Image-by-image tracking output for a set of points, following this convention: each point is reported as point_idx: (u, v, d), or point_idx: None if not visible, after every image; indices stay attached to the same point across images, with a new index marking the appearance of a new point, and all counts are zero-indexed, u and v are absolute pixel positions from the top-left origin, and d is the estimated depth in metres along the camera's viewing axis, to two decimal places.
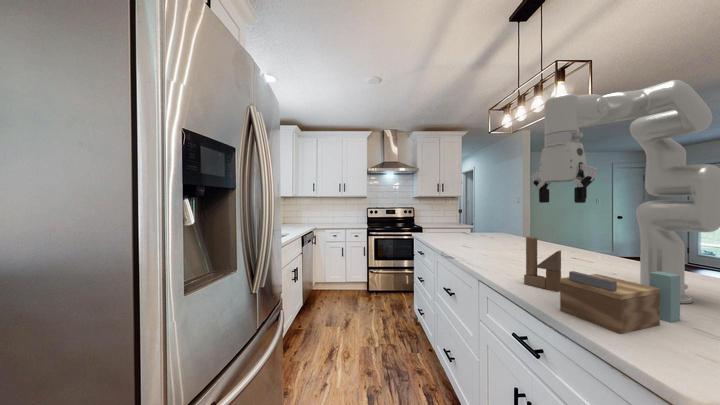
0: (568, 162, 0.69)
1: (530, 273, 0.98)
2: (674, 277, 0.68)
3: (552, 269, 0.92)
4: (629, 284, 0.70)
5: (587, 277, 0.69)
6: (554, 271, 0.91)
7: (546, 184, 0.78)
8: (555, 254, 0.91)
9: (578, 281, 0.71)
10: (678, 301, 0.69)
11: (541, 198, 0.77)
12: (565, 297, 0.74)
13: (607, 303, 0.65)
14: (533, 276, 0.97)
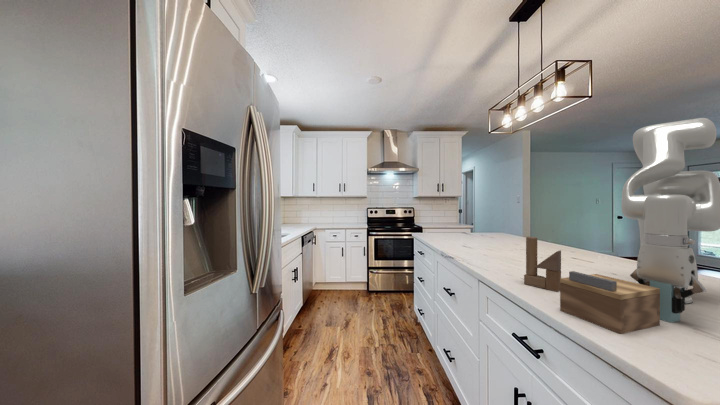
0: (678, 269, 0.66)
1: (530, 273, 0.98)
2: None
3: (552, 269, 0.92)
4: (629, 284, 0.70)
5: (587, 277, 0.69)
6: (554, 271, 0.91)
7: None
8: (555, 254, 0.91)
9: (578, 281, 0.71)
10: None
11: None
12: (565, 297, 0.74)
13: (607, 303, 0.65)
14: (533, 276, 0.97)
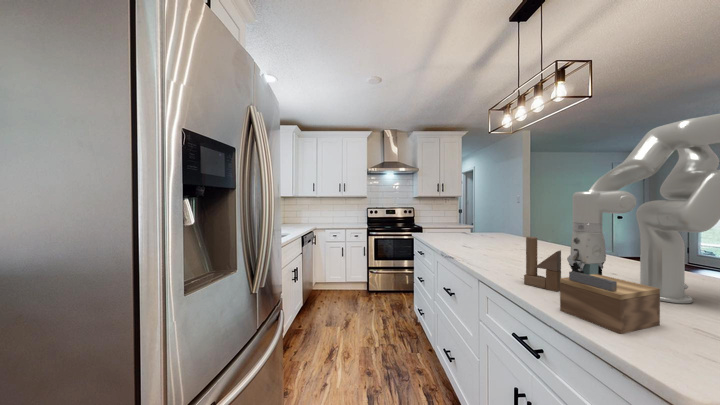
0: None
1: (530, 273, 0.98)
2: None
3: (552, 269, 0.92)
4: (629, 284, 0.70)
5: (587, 277, 0.69)
6: (554, 271, 0.91)
7: None
8: (555, 254, 0.91)
9: (578, 281, 0.71)
10: None
11: None
12: (565, 297, 0.74)
13: (607, 303, 0.65)
14: (533, 276, 0.97)
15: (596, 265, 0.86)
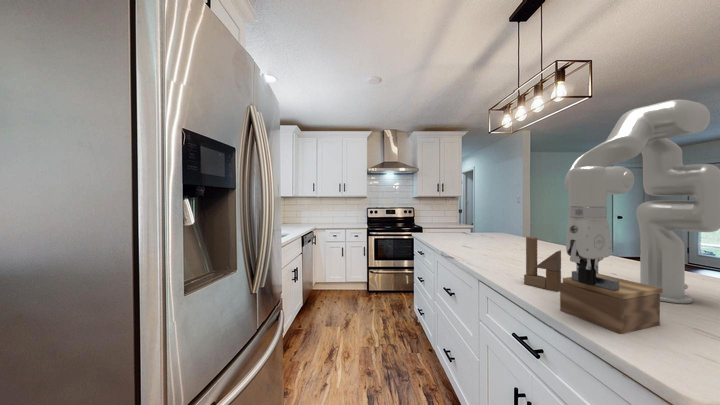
0: None
1: (530, 273, 0.98)
2: None
3: (552, 269, 0.92)
4: (631, 284, 0.70)
5: None
6: (554, 271, 0.91)
7: None
8: (555, 254, 0.91)
9: None
10: None
11: None
12: (565, 297, 0.74)
13: (607, 303, 0.65)
14: (533, 276, 0.97)
15: None
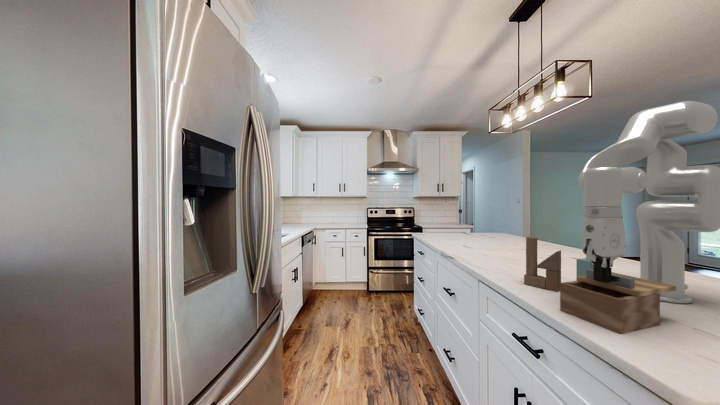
0: None
1: (530, 273, 0.98)
2: (581, 260, 0.87)
3: (552, 269, 0.92)
4: (645, 282, 0.72)
5: None
6: (554, 271, 0.91)
7: None
8: (555, 254, 0.91)
9: None
10: None
11: None
12: (565, 297, 0.74)
13: (607, 303, 0.65)
14: (533, 276, 0.97)
15: None
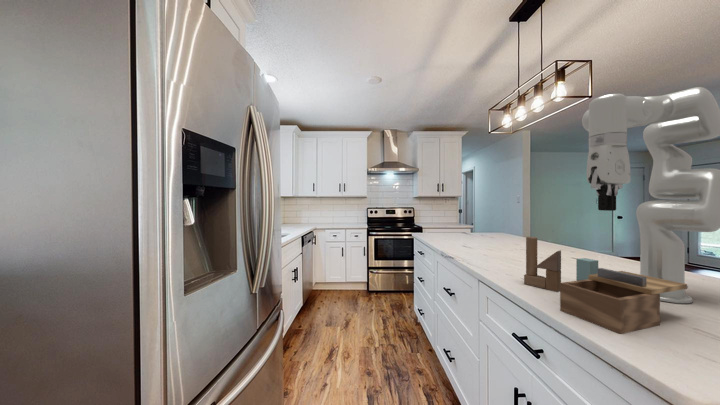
0: None
1: (530, 273, 0.98)
2: (581, 260, 0.87)
3: (552, 269, 0.92)
4: (656, 280, 0.73)
5: (616, 273, 0.73)
6: (554, 271, 0.91)
7: None
8: (555, 254, 0.91)
9: (607, 277, 0.75)
10: None
11: None
12: (565, 297, 0.74)
13: (607, 303, 0.65)
14: (533, 276, 0.97)
15: (596, 265, 0.86)
